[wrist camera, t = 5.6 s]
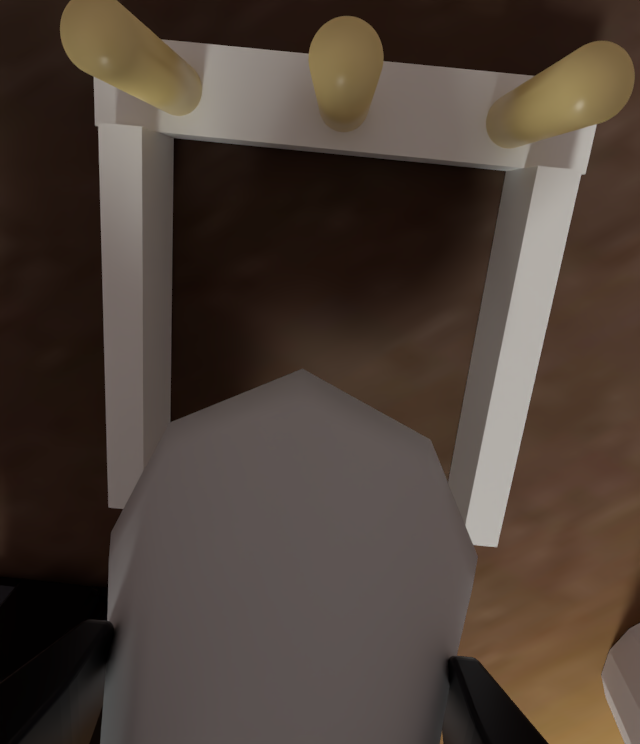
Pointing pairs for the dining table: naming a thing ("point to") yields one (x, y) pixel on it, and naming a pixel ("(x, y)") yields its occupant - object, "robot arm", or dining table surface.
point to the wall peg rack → (344, 137)
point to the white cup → (624, 684)
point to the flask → (286, 578)
